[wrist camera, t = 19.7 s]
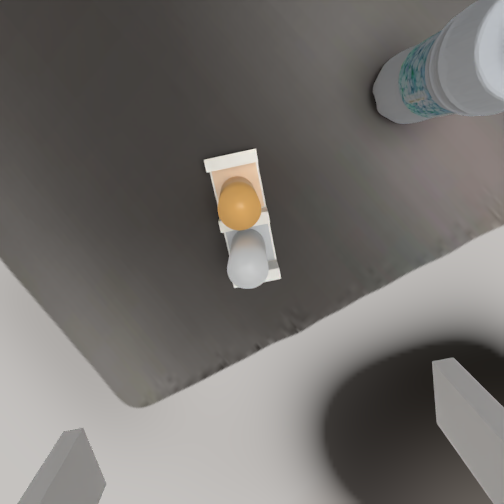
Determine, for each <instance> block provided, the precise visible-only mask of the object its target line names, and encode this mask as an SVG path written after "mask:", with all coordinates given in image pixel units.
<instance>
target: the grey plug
mask: <svg viewBox="0 0 504 504" xmlns="http://www.w3.org/2000/svg"><path fill="white" fill-rule="evenodd" d="M268 271H269V268H268V261H267V254H266V247H265V241H264V238H263V236H262V235H261V234H260V233H259V232H258V231H256V230H254V229H246V230H241V231H239V232H237V233H236V234H235V236H234V237H233V240H232V244H231V250H230V255H229V260H228V265H227V273H228V276H229V278H230V280H231V281H232V282H233V283H234V284H235V285H236V286H238V287H240V288H244V289H252V288H256V287H258V286H259V285H261V284H262V283H263V282H264V281H265V280H266V278H267V275H268Z"/></svg>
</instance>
